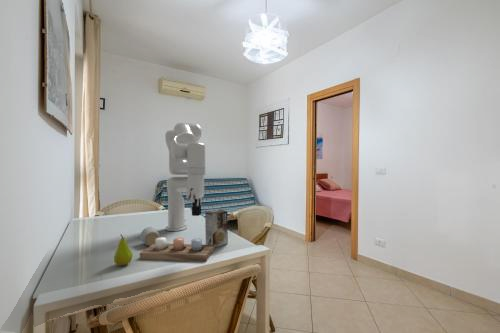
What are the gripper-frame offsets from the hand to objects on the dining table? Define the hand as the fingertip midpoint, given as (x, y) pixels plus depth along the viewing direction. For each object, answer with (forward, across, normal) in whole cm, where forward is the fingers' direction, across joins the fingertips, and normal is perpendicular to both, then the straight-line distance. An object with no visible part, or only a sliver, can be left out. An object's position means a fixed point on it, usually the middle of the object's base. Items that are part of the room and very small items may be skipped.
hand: (196, 214), depth 97 cm
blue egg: (+15, 0, 0) cm, 15 cm away
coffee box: (+17, -14, +5) cm, 23 cm away
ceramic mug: (+17, -12, -26) cm, 34 cm away
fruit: (+17, +12, -25) cm, 33 cm away
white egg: (+15, 0, -16) cm, 22 cm away
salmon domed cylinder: (+15, 0, -8) cm, 17 cm away
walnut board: (+17, 0, -8) cm, 19 cm away
